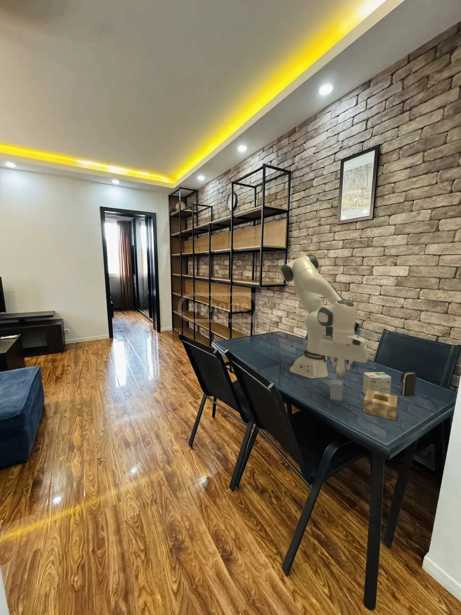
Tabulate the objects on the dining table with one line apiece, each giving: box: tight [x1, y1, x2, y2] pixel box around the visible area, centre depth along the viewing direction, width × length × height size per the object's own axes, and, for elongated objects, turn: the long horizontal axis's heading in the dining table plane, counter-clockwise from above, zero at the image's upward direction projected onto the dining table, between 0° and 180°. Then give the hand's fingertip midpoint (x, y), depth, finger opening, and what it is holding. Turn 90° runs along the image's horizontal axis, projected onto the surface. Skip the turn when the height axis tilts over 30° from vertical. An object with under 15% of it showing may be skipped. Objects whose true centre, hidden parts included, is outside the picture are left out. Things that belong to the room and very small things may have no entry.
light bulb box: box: [362, 371, 392, 395], centre depth 129 cm, size 11×7×11 cm, turn 92°
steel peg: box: [334, 356, 347, 380], centre depth 114 cm, size 4×4×10 cm
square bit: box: [329, 379, 344, 402], centre depth 126 cm, size 5×5×8 cm
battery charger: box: [399, 371, 418, 397], centre depth 130 cm, size 7×4×11 cm, turn 105°
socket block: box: [362, 389, 398, 421], centre depth 115 cm, size 12×12×6 cm
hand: (340, 367), depth 115 cm, fingers closed on steel peg, 4 cm apart
